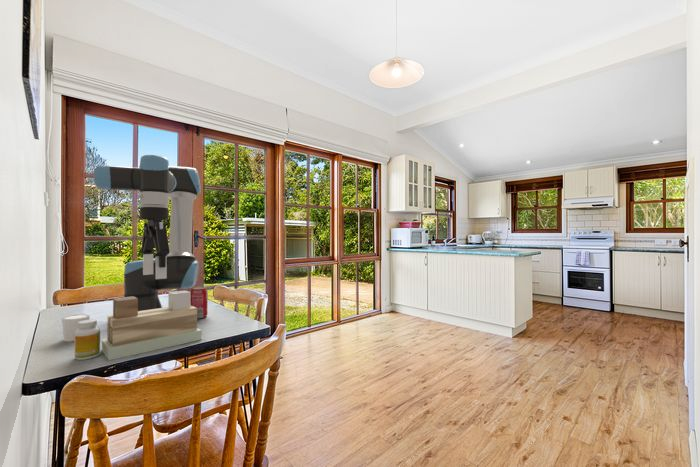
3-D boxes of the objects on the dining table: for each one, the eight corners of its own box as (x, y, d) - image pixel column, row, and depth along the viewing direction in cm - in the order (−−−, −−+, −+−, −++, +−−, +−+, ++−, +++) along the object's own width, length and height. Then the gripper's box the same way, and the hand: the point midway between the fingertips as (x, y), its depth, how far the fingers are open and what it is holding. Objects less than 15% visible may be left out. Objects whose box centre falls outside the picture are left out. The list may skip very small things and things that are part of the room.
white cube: (168, 307, 103) (168, 292, 103) (185, 305, 107) (185, 290, 107) (173, 310, 100) (173, 294, 100) (190, 307, 103) (190, 292, 103)
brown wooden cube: (113, 315, 93) (113, 298, 93) (133, 312, 96) (133, 296, 96) (116, 319, 89) (116, 301, 89) (137, 315, 93) (137, 298, 93)
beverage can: (201, 314, 134) (201, 286, 134) (210, 316, 131) (210, 287, 131) (187, 318, 129) (187, 288, 129) (196, 320, 126) (196, 289, 126)
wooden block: (107, 339, 93) (107, 315, 93) (187, 324, 109) (188, 304, 109) (112, 346, 87) (112, 320, 87) (197, 329, 103) (197, 307, 103)
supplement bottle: (101, 356, 88) (101, 321, 88) (75, 362, 84) (75, 325, 84) (98, 351, 92) (98, 317, 92) (73, 356, 88) (73, 321, 88)
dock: (101, 350, 93) (101, 339, 93) (189, 332, 110) (189, 323, 110) (108, 360, 86) (108, 349, 86) (201, 339, 103) (201, 330, 103)
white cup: (93, 337, 105) (93, 315, 105) (66, 343, 99) (66, 320, 99) (84, 333, 108) (84, 313, 108) (57, 339, 102) (58, 317, 102)
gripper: (130, 208, 104) (130, 273, 104) (152, 203, 87) (151, 282, 87) (156, 209, 110) (156, 272, 110) (182, 205, 92) (181, 279, 92)
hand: (154, 276), depth 98 cm, fingers open, 13 cm apart
